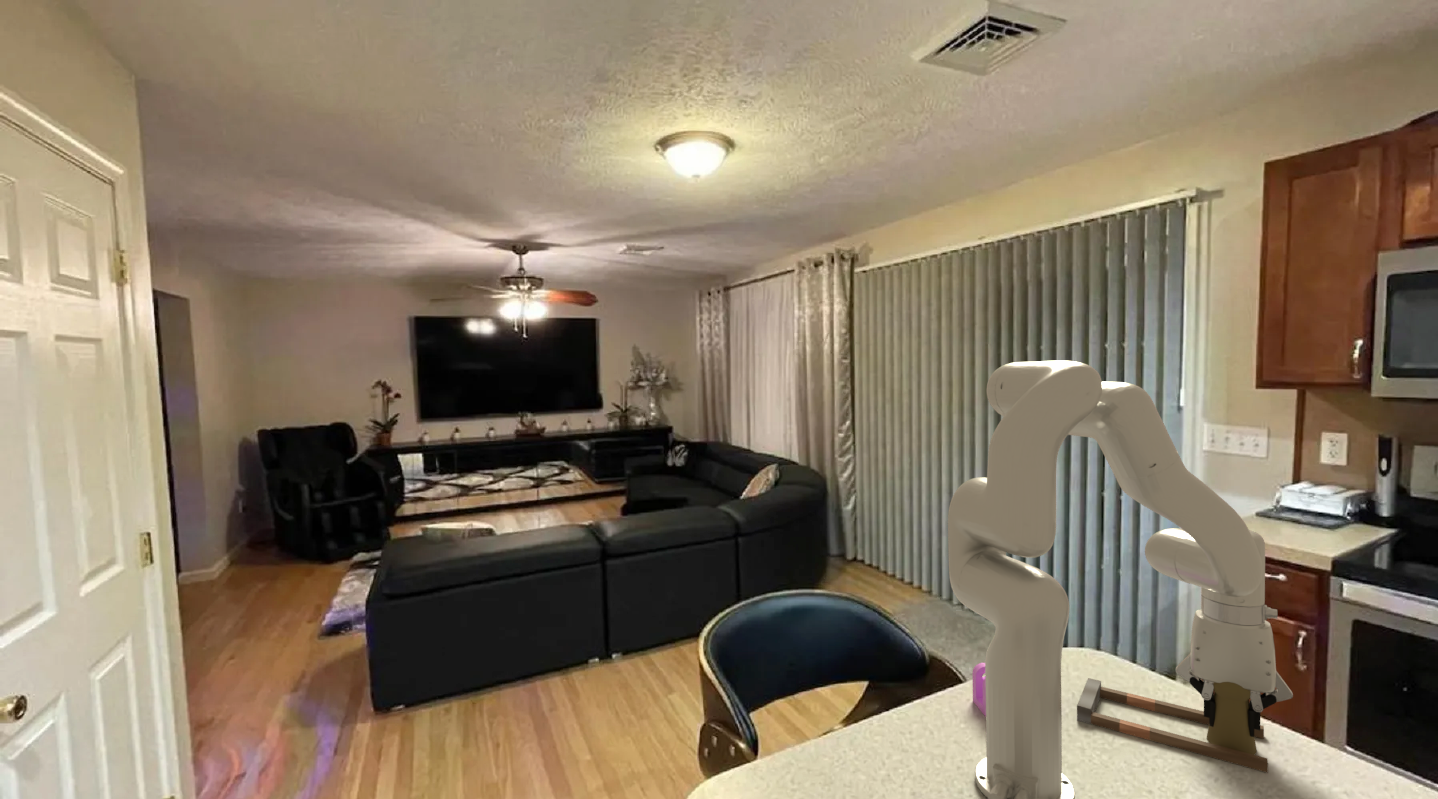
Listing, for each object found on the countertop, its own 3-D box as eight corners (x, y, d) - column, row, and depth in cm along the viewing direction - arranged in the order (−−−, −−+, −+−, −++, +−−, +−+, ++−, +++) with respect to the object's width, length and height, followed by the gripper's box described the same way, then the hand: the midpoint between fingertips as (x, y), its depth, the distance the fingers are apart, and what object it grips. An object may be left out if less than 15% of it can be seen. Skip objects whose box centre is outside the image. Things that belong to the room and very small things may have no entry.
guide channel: (1267, 772, 91) (1267, 755, 91) (1077, 720, 106) (1077, 705, 106) (1263, 735, 100) (1263, 719, 100) (1088, 691, 115) (1088, 677, 115)
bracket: (986, 718, 108) (985, 678, 107) (972, 701, 113) (972, 663, 113) (1063, 715, 108) (1062, 675, 108) (1045, 698, 113) (1045, 660, 113)
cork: (1266, 757, 95) (1267, 685, 94) (1219, 754, 96) (1220, 682, 95) (1241, 734, 101) (1242, 666, 100) (1198, 731, 102) (1198, 663, 101)
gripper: (1304, 613, 95) (1302, 734, 96) (1166, 592, 105) (1166, 701, 106) (1309, 631, 89) (1307, 759, 90) (1163, 606, 99) (1163, 721, 100)
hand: (1231, 726), depth 98 cm, fingers closed on cork, 4 cm apart
